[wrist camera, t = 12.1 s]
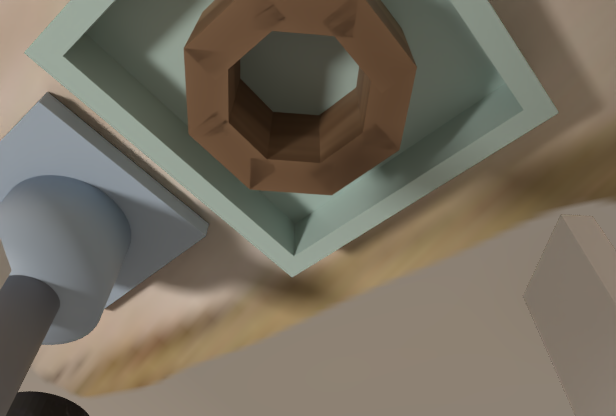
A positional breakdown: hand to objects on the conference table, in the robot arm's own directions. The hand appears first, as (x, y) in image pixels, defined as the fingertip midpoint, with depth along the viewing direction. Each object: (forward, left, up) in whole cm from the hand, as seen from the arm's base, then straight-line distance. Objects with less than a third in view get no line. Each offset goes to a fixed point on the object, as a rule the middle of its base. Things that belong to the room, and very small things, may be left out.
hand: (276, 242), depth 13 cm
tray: (0, 0, -13) cm, 13 cm away
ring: (0, 0, -12) cm, 12 cm away
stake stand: (-1, -15, -13) cm, 20 cm away
